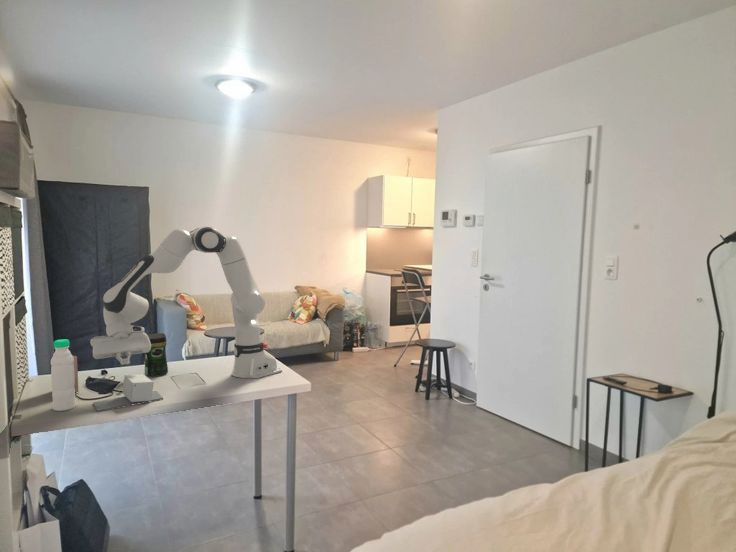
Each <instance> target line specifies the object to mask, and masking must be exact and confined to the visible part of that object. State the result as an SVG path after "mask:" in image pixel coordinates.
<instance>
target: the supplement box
mask: <svg viewBox="0 0 736 552" xmlns="http://www.w3.org/2000/svg"><path fill="white" fill-rule="evenodd" d="M153 388H154V381H153V380H152V379H150V378H149V376H146V375H145V373H144V374H125V375H124V378H123V385H122V392H121V393H122V395H123V396H124V397H125V396H126V397H127V398H128V399H129V400H130V401H131V402H140V401H151V398H152V392H153V391H154V390H153Z"/></svg>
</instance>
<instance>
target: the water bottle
mask: <svg viewBox="0 0 736 552" xmlns="http://www.w3.org/2000/svg"><path fill="white" fill-rule="evenodd" d="M53 348H54V349H55V351H54V353H53V354H52V355H53V356H52V357H51V359H50V365H51V370H50V373H51V374H50V375H51V377H50V379H51V388H52V391H51V396H52V397H51V398H52V409H53V411H56V412H64V411H69V410H72V409H73V408H75V407H76V405H77V401H76V393H75V387H74V385H75V373H74V364H73V362H74V358H73V356H74V355H73V354H72V352H71V350H69V348H70V339H65V338H64V339H56V340H54V341H53Z"/></svg>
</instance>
